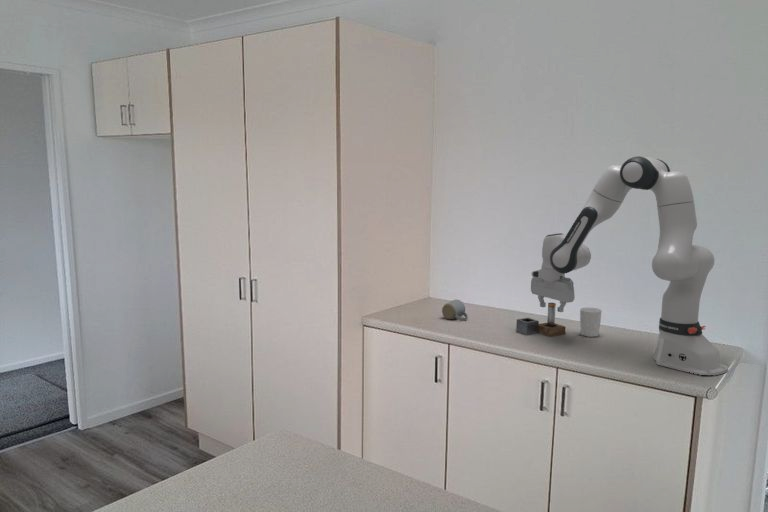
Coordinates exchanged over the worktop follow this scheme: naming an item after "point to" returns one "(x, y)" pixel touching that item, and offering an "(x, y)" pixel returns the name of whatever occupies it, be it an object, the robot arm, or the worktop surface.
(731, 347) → the worktop surface
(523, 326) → the socket block
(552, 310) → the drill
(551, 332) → the block
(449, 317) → the ceramic mug
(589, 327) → the white cup
